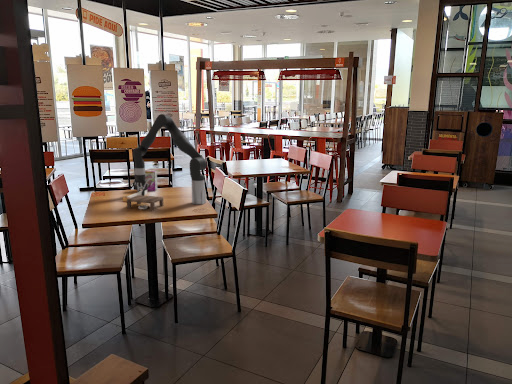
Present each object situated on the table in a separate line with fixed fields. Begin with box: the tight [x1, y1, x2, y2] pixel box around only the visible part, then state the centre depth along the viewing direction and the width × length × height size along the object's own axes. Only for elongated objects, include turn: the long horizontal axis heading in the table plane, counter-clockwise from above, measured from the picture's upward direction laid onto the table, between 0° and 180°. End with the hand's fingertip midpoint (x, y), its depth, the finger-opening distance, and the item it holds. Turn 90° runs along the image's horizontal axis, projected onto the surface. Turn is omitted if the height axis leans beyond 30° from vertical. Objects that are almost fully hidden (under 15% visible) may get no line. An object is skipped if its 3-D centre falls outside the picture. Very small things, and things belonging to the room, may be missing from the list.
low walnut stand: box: [126, 195, 165, 212], centre depth 280 cm, size 20×14×6 cm
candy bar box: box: [145, 169, 158, 192], centre depth 328 cm, size 11×5×16 cm, turn 84°
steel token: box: [137, 204, 148, 210], centre depth 277 cm, size 6×6×2 cm
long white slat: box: [122, 190, 148, 203], centre depth 306 cm, size 8×26×4 cm, turn 164°
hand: (141, 195), depth 311 cm, fingers closed on long white slat, 2 cm apart
